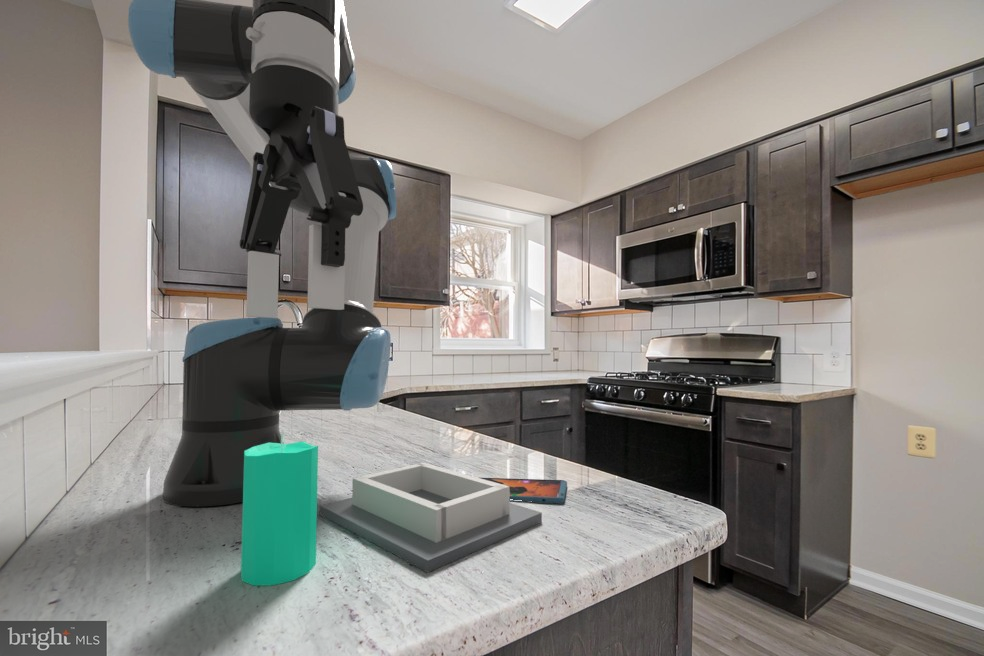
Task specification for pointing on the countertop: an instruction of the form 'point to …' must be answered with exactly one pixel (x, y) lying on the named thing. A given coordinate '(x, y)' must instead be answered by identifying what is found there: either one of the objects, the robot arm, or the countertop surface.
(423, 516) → the dock
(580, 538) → the countertop surface
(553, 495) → the smartphone
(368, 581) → the countertop surface
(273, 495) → the candle
